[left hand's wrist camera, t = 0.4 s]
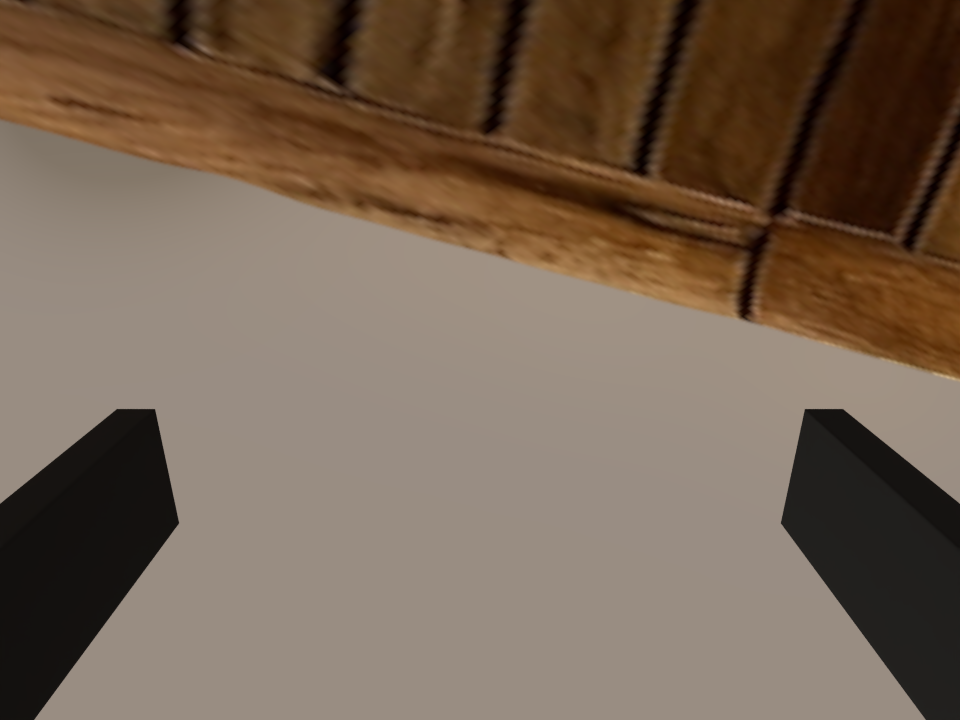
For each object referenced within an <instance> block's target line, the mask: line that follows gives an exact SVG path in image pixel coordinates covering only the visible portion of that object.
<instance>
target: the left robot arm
mask: <svg viewBox="0 0 960 720" xmlns="http://www.w3.org/2000/svg"><path fill="white" fill-rule="evenodd" d="M178 524H179V521H178V516H177V511H176V506H175V502H174V497H173V492H172V488H171V483H170V478H169V473H168V469H167V464H166V459H165V454H164V450H163V445H162V440H161V435H160V431H159V426H158V421H157V416H156V412H155V409H117V410H115V411H114V412H113V413H112V414H111V415H109V416H108V417H107V418H106V419H104V420H103V421H102V422H101V423H99V424H98V425H97V426H96V427H95V428H93V429H92V430H91V431H90V432H88V433H87V434H86V435H85V436H83V437H82V438H81V439H80V440H78V441H77V442H76V443H75V444H73V445H72V446H71V447H70V448H69V449H67V450H66V451H65V452H64V453H62V454H61V455H60V456H59V457H57V458H56V459H55V460H54V461H52V462H51V463H50V464H49V465H48V466H46V467H45V468H44V469H43V470H41V471H40V472H39V473H38V474H36V475H35V476H34V477H33V478H32V479H30V480H29V481H28V482H27V483H25V484H24V485H23V486H22V487H20V488H19V489H18V490H17V491H15V492H14V493H13V494H12V495H10V496H9V497H8V498H7V499H6V500H4V501H3V502H2V503H1V504H0V720H34V719H35V718H36V716H37V715H38V714H39V712H40V711H41V710H42V708H43V707H44V706H45V704H46V703H47V702H48V700H49V699H50V697H51V696H52V695H53V693H54V692H55V691H56V689H57V688H58V687H59V685H60V684H61V683H62V681H63V680H64V679H65V677H66V676H67V674H68V673H69V672H70V670H71V669H72V668H73V666H74V665H75V664H76V662H77V661H78V660H79V658H80V657H81V655H82V654H83V653H84V651H85V650H86V649H87V647H88V646H89V645H90V643H91V642H92V641H93V639H94V638H95V636H96V635H97V634H98V632H99V631H100V630H101V628H102V627H103V626H104V624H105V623H106V622H107V620H108V619H109V618H110V616H111V615H112V613H113V612H114V611H115V609H116V608H117V607H118V605H119V604H120V603H121V601H122V600H123V598H124V597H125V596H126V594H127V593H128V592H129V590H130V589H131V588H132V586H133V585H134V584H135V582H136V581H137V579H138V578H139V577H140V575H141V574H142V573H143V571H144V570H145V569H146V567H147V566H148V565H149V563H150V562H151V561H152V559H153V558H154V557H155V555H156V554H157V552H158V551H159V550H160V548H161V547H162V546H163V544H164V543H165V542H166V540H167V539H168V538H169V536H170V535H171V533H172V532H173V531H174V529H175V528H176V527H177V525H178ZM781 524H782V525H783V527H784V528H785V529H786V531H787V532H788V533H789V535H790V536H791V537H792V539H793V540H794V542H795V543H796V544H797V546H798V547H799V548H800V550H801V551H802V552H803V554H804V555H805V557H806V558H807V559H808V561H809V562H810V563H811V565H812V566H813V567H814V569H815V570H816V571H817V573H818V574H819V575H820V577H821V578H822V580H823V581H824V582H825V584H826V585H827V586H828V588H829V589H830V590H831V592H832V593H833V594H834V596H835V597H836V599H837V600H838V601H839V603H840V604H841V605H842V607H843V608H844V609H845V611H846V612H847V613H848V615H849V616H850V617H851V619H852V620H853V622H854V623H855V624H856V626H857V627H858V628H859V630H860V631H861V632H862V634H863V635H864V636H865V638H866V639H867V641H868V642H869V643H870V645H871V646H872V647H873V649H874V650H875V651H876V653H877V654H878V655H879V657H880V658H881V660H882V661H883V662H884V664H885V665H886V666H887V668H888V669H889V670H890V672H891V673H892V674H893V676H894V677H895V679H896V680H897V681H898V683H899V684H900V685H901V687H902V688H903V689H904V691H905V692H906V693H907V695H908V696H909V697H910V699H911V700H912V702H913V703H914V704H915V705H916V707H917V708H918V710H919V711H920V712H921V714H922V715H923V716H924V718H925V719H926V720H960V504H959V503H958V502H957V501H956V500H954V499H953V498H952V497H951V496H949V495H948V494H947V493H946V492H945V491H943V490H942V489H941V488H940V487H938V486H937V485H936V484H935V483H933V482H932V481H931V480H930V479H929V478H927V477H926V476H925V475H924V474H922V473H921V472H920V471H919V470H917V469H916V468H915V467H914V466H912V465H911V464H910V463H909V462H908V461H906V460H905V459H904V458H903V457H901V456H900V455H899V454H898V453H896V452H895V451H894V450H893V449H891V448H890V447H889V446H888V445H887V444H885V443H884V442H883V441H882V440H880V439H879V438H878V437H877V436H875V435H874V434H873V433H872V432H871V431H869V430H868V429H867V428H865V427H864V426H863V425H862V424H861V423H859V422H858V421H857V420H856V419H854V418H853V417H852V416H851V415H849V414H848V413H847V412H846V411H845V410H843V409H805V412H804V416H803V421H802V426H801V431H800V435H799V440H798V445H797V450H796V454H795V459H794V464H793V469H792V473H791V478H790V483H789V488H788V493H787V497H786V502H785V507H784V511H783V516H782V521H781Z"/></svg>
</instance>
